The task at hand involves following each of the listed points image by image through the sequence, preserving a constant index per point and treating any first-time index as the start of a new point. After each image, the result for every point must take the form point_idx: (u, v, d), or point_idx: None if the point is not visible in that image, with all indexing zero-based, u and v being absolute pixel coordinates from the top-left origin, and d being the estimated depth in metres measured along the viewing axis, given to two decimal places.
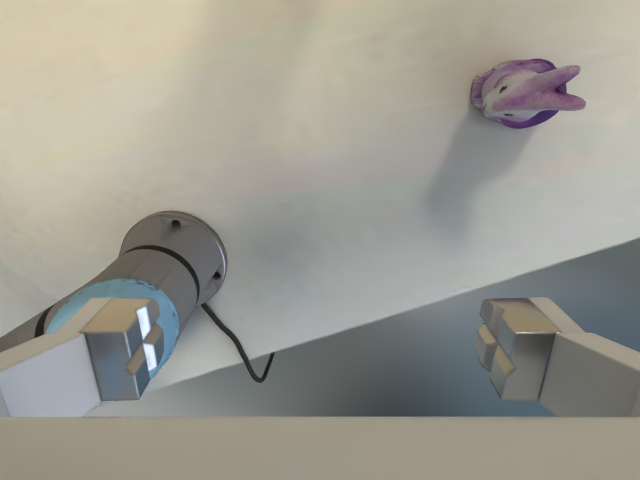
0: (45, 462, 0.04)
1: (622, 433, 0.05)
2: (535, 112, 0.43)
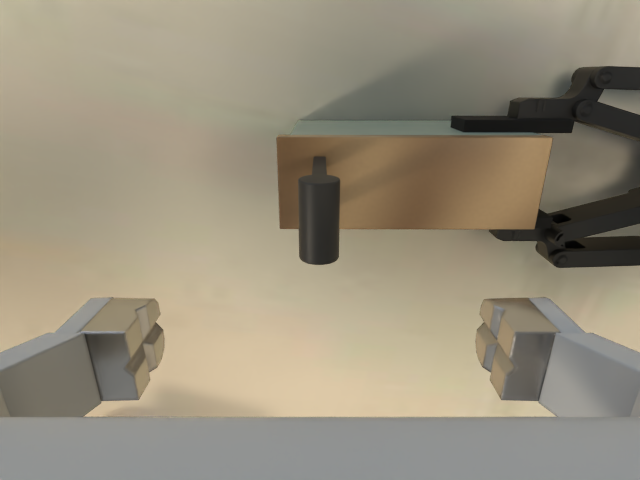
0: (45, 462, 0.04)
1: (622, 433, 0.05)
2: None
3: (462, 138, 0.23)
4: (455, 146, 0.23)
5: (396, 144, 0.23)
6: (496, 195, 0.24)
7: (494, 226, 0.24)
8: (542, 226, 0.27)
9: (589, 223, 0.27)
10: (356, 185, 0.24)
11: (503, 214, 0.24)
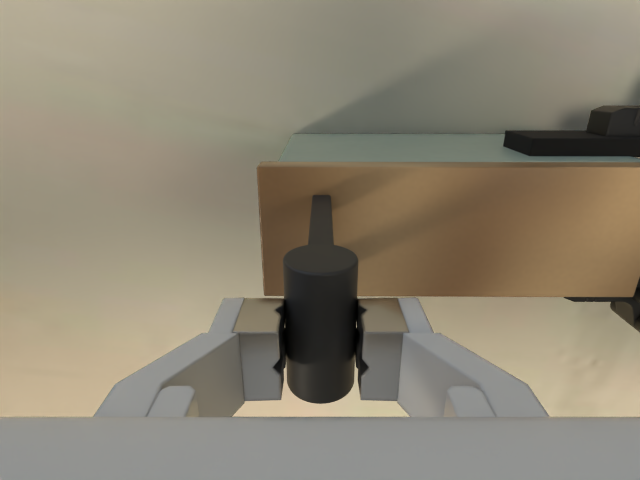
0: (45, 462, 0.04)
1: (622, 433, 0.05)
2: None
3: (536, 168, 0.15)
4: (525, 179, 0.15)
5: (436, 177, 0.15)
6: (581, 249, 0.16)
7: (575, 293, 0.17)
8: None
9: None
10: (375, 235, 0.16)
11: (590, 276, 0.17)
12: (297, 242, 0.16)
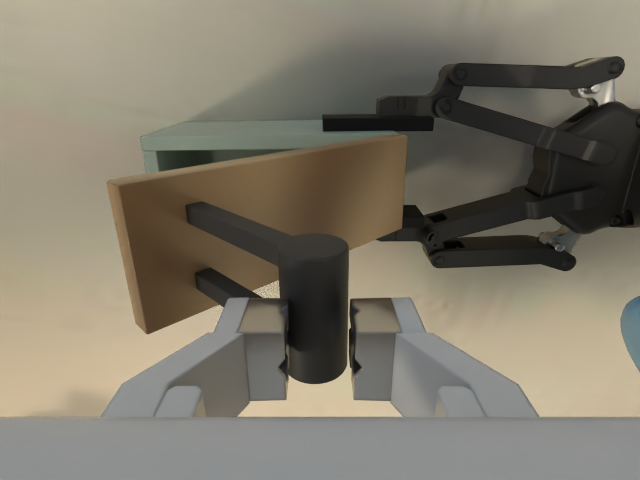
0: (45, 462, 0.04)
1: (622, 433, 0.05)
2: None
3: (345, 147, 0.19)
4: (340, 157, 0.19)
5: (286, 165, 0.17)
6: (375, 203, 0.22)
7: (376, 236, 0.23)
8: (414, 226, 0.26)
9: (463, 222, 0.27)
10: None
11: (381, 221, 0.23)
12: (175, 261, 0.14)
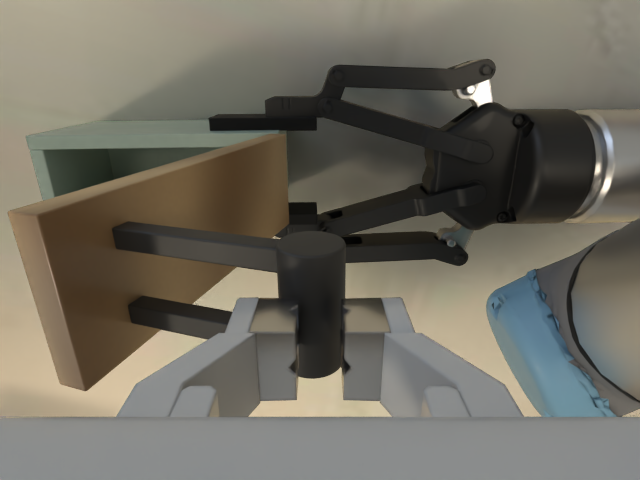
0: (45, 462, 0.04)
1: (622, 433, 0.05)
2: None
3: (243, 149, 0.19)
4: (240, 159, 0.19)
5: (198, 172, 0.16)
6: (269, 202, 0.22)
7: (272, 234, 0.23)
8: (308, 223, 0.27)
9: (355, 219, 0.27)
10: None
11: (275, 219, 0.23)
12: (107, 296, 0.12)
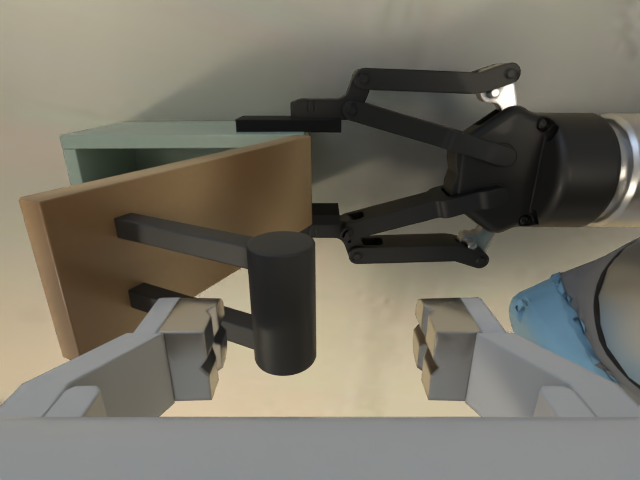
0: (45, 462, 0.04)
1: (622, 433, 0.05)
2: None
3: (260, 149, 0.20)
4: (257, 159, 0.19)
5: (209, 170, 0.17)
6: (289, 202, 0.23)
7: None
8: (330, 223, 0.28)
9: (377, 220, 0.28)
10: None
11: (295, 218, 0.24)
12: (107, 280, 0.13)
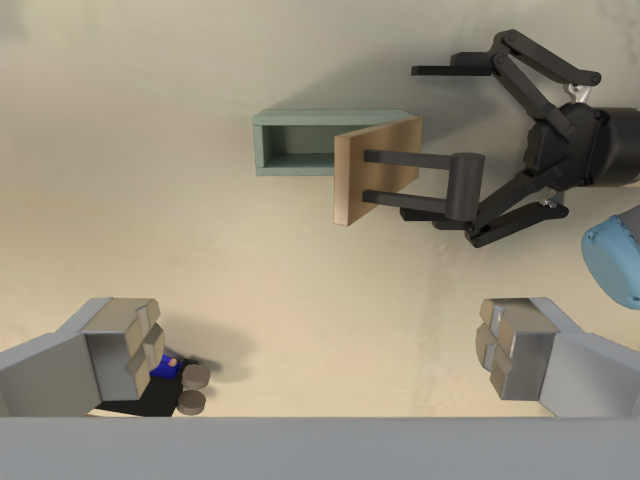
0: (45, 462, 0.04)
1: (622, 433, 0.05)
2: None
3: (405, 122, 0.32)
4: (404, 128, 0.32)
5: (389, 131, 0.29)
6: None
7: (410, 180, 0.36)
8: None
9: (490, 211, 0.41)
10: (377, 169, 0.28)
11: (412, 171, 0.36)
12: (358, 183, 0.26)
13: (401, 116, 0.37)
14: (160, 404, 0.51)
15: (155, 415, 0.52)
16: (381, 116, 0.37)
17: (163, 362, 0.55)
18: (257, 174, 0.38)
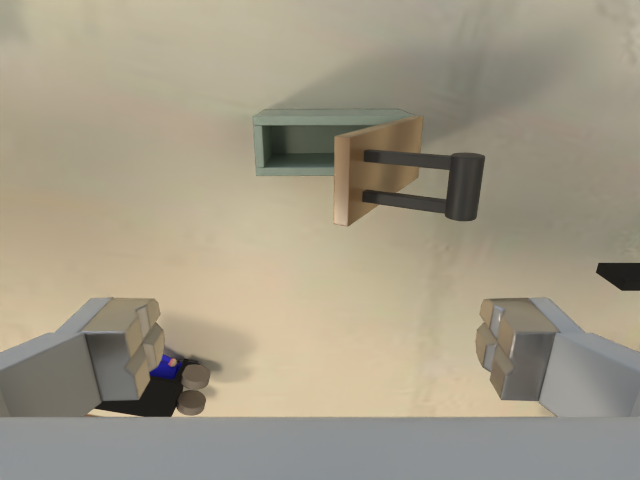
0: (45, 462, 0.04)
1: (622, 433, 0.05)
2: None
3: (405, 122, 0.32)
4: (404, 128, 0.32)
5: (389, 131, 0.29)
6: None
7: (410, 180, 0.36)
8: None
9: None
10: (377, 169, 0.28)
11: (412, 171, 0.36)
12: (358, 183, 0.26)
13: (401, 116, 0.37)
14: (160, 404, 0.51)
15: (155, 415, 0.52)
16: (381, 116, 0.37)
17: (163, 362, 0.55)
18: (257, 174, 0.38)
